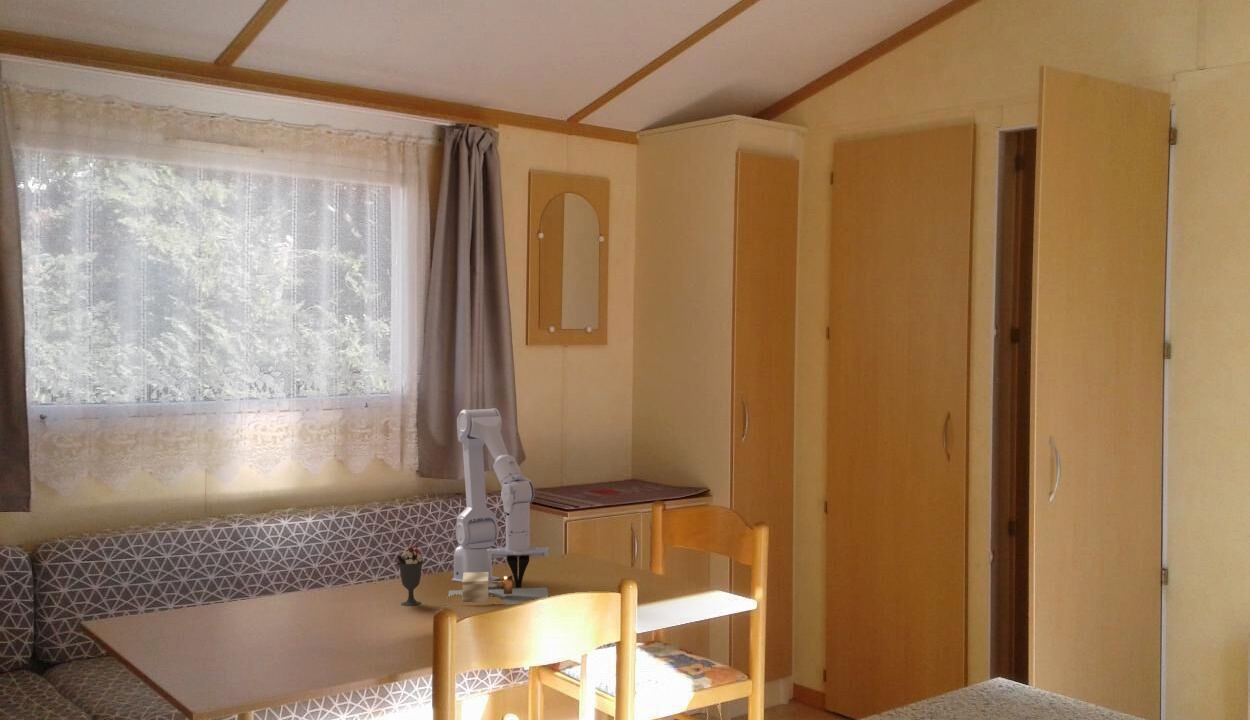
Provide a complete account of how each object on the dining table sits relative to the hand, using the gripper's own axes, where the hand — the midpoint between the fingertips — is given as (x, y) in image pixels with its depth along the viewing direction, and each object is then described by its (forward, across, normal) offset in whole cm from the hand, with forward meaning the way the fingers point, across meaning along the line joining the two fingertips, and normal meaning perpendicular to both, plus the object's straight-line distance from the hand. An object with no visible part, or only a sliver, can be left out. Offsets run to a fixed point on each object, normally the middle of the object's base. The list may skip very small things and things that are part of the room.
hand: (518, 587), depth 270 cm
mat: (+2, -5, 0) cm, 5 cm away
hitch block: (+2, -10, 0) cm, 10 cm away
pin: (+2, -6, 0) cm, 7 cm away
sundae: (+3, -25, -4) cm, 26 cm away
